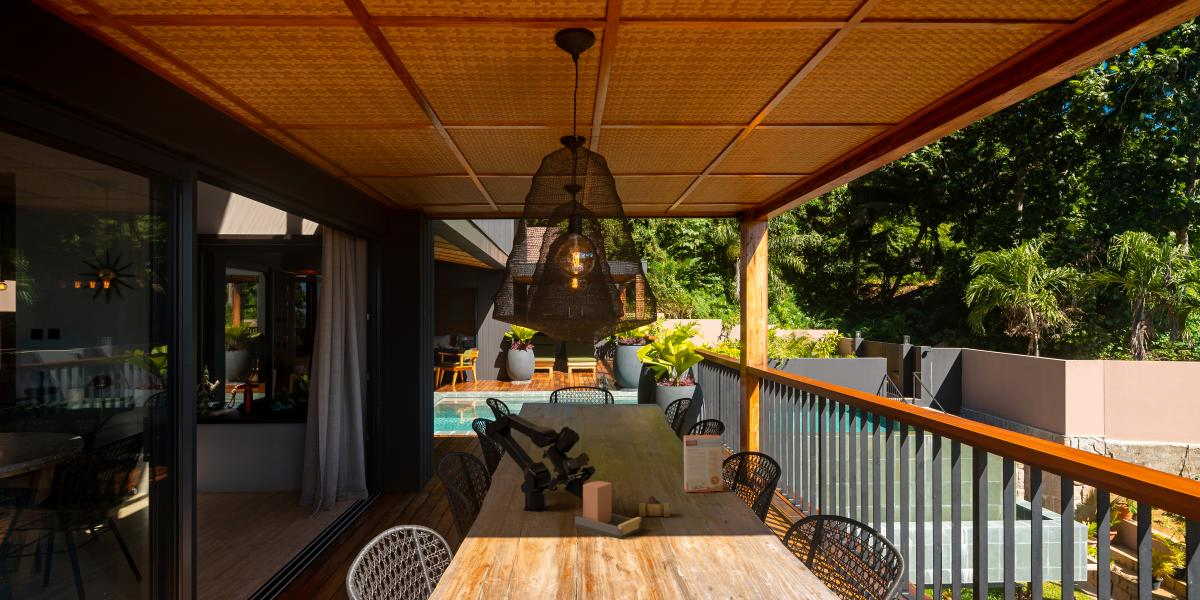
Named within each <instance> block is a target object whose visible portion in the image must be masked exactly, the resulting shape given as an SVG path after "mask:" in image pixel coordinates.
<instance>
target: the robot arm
mask: <svg viewBox="0 0 1200 600" xmlns="http://www.w3.org/2000/svg"><path fill="white" fill-rule="evenodd" d="M511 429H513V430H515V431H517V432H519V433H521V435H525V436H526V437H528V438H529V439H530V440H531V442H532V444H534V445H535V446H536V447H537V448H539V449H543V448H547V449H545V450H543V454H542V459H543V460H544V459H549V461H550V462H551V464H552V466H553V467H554V468H553V469H552V471H553V472H554V473H558V474H556V475H554V476H553V477H552V473H551V472H550V471H549V470H550V468H549V467H547V466H546V464H545V463H544V462H543V461H539V462H535V461H534V460H533V459H532V458H531V456H530V455H528V453H527V452H526V450H524V448H522V446H521V445H520V444H519V443H518V441H517V440H516V439H515V438H514V437H513V436H512V430H511ZM484 434H485V436H486V437H487V438H488V439H489V440H490V441H492V442H494V443H496V444H498V445H500V446H501V447H502V448H503V449H504V450H505V451H506V453H507V454H508V455H509V456H510V458H511V459H512V460H513V461H514V463H515V464H516V465H517V466H518V467H519V468H520V469H521V471H522V472H523V480H524V482H522V484H521V485H520V489H521V492H522V493H524V502H525V503H524V507H523V511H529V510H531V511H532V512H542V511H543V510H544V509H545V508H547V506H548V505H547V494H546V490H549V492H550V493H554V492H557V491H558V486H560V485H564V486H563V492H565V491H566V492H567V493H570V494H572V495H574V496H575V497H577V498H579V499H580V500H582V501H583V485H584V484H585V482H587V481H589V480H590V479H591V477H592V476H594V474H595V473H596V472H597V470H596V468H595V467H594V466H593V465H589V463H588V462H590V456H589V455H587V453H586V452H583V453H581V454H579V455H578V456H577V457H572V456H570V457H569V456H568V454H567V453H571V450H572V449H573V448H574V447H575V445H577V444H578V442H579V441H580V436H579V433H578V432H576V431H575V430H574V429H571V428H570V427H568V426H567V425H566V426H563V427H562V428H561V430H560V432H557V431H556V430H555V429H554V428H552V427H551V428H550V427H546V426H539V425H537V424H534V423H533V422H531V421H528V420H527V419H525V418H523V417H521V416H519V415H518V414H516V413H514V412H513V413H512V412H511V413H506V414H504V415H502V416H501V417H500V418H498V419H495V420H493V421H490V422H487V423H486V425H485V427H484ZM581 467H582V468H581ZM531 511H530V512H531Z"/></svg>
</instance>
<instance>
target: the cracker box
mask: <svg viewBox="0 0 1200 600" xmlns="http://www.w3.org/2000/svg"><path fill="white" fill-rule="evenodd" d="M683 484H684V486H683V487H684V488H683V490H684V491H685V493H687V492H696V493H714V492H713V491H724V490H723V487H724V486H723V437H722V436H721V435H720V434H691V435H690V434H688V435H687V434H685V435H683ZM711 491H712V492H711Z"/></svg>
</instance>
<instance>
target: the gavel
mask: <svg viewBox="0 0 1200 600" xmlns="http://www.w3.org/2000/svg"><path fill="white" fill-rule="evenodd" d="M638 512H639V513H638V515H639V516H640V517H641V518H645V517H663V516H664V517H663V518H670V514H671V510H670V503H669V502H663V503H662V504H660V503H657V500H656V497H655V496H653V495H650V496H649V497H648V503H645V502H639V504H638ZM639 516H638V517H639Z"/></svg>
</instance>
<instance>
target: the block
mask: <svg viewBox="0 0 1200 600" xmlns="http://www.w3.org/2000/svg"><path fill="white" fill-rule="evenodd" d="M582 501H583V502H582V517H583V518H587V519H591V520H595V521H598V522H602V523H608V522H610V521H611V513H612V483H611V482H606V481H602V480H597V479H596V480H593V481H591V482H587V483H584V485H583V500H582Z"/></svg>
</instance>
